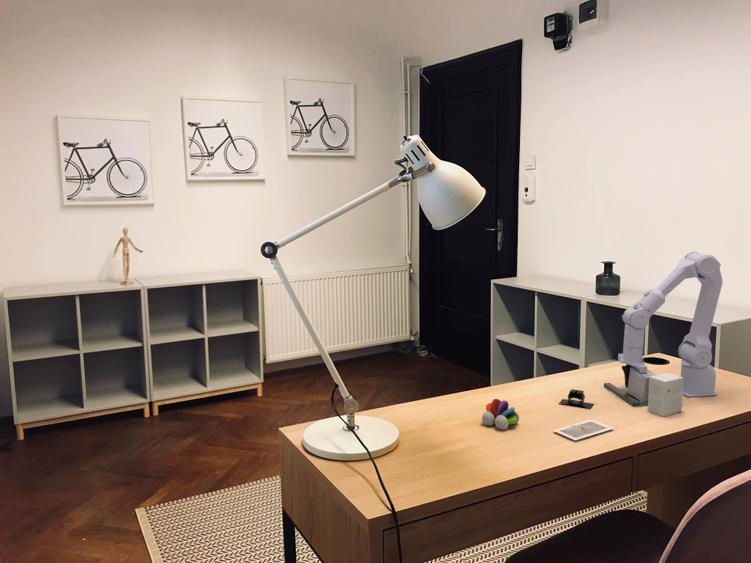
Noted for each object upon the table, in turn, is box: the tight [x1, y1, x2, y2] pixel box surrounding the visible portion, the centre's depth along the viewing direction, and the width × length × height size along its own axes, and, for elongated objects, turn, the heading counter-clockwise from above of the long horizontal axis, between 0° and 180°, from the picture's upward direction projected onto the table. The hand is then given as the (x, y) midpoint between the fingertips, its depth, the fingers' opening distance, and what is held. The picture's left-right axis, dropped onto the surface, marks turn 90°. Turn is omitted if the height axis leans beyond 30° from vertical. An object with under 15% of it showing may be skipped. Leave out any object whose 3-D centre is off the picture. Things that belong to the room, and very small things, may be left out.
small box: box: [647, 372, 684, 418], centre depth 187 cm, size 8×6×10 cm
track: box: [603, 382, 648, 408], centre depth 202 cm, size 11×19×1 cm, turn 6°
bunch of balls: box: [481, 398, 520, 431], centre depth 180 cm, size 8×10×7 cm
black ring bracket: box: [558, 388, 595, 410], centre depth 195 cm, size 12×7×5 cm, turn 60°
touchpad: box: [552, 418, 615, 441], centre depth 174 cm, size 8×15×2 cm, turn 121°
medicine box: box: [626, 367, 657, 401], centre depth 197 cm, size 8×4×9 cm, turn 15°
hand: (630, 388), depth 203 cm, fingers closed, pressing on medicine box
